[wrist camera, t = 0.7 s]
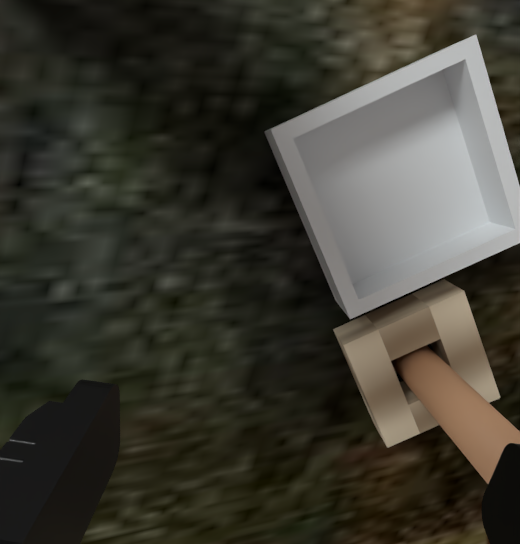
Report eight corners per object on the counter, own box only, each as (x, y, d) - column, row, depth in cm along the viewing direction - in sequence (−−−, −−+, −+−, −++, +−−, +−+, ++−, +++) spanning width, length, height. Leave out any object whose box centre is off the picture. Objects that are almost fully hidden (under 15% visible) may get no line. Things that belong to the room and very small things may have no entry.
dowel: (383, 346, 37) (481, 461, 23) (419, 330, 37) (539, 436, 23) (396, 378, 38) (499, 508, 24) (432, 362, 37) (554, 484, 24)
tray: (263, 131, 32) (270, 129, 28) (444, 48, 32) (476, 34, 28) (335, 300, 35) (350, 319, 32) (498, 226, 35) (533, 236, 31)
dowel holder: (333, 329, 36) (343, 345, 33) (444, 279, 36) (464, 290, 33) (374, 425, 38) (387, 447, 35) (478, 378, 38) (500, 397, 35)
